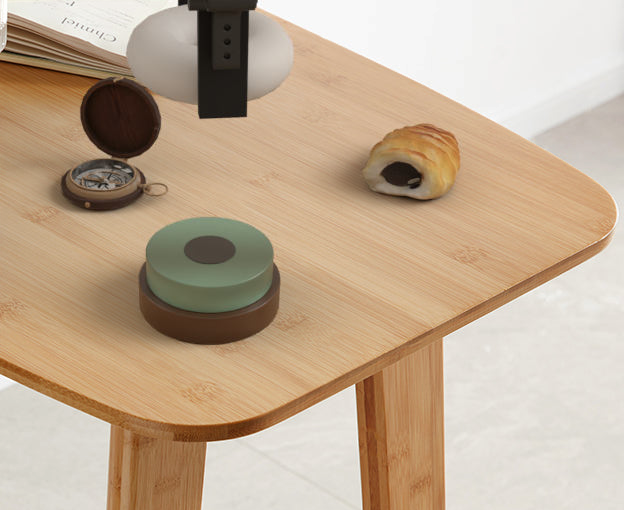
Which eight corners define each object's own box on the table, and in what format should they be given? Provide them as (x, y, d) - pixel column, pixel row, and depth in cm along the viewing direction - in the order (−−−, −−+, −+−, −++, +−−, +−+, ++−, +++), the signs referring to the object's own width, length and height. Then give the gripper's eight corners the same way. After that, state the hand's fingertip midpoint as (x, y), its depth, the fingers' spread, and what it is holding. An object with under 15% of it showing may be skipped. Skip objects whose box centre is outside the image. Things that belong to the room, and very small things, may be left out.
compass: (47, 205, 82) (39, 113, 77) (89, 155, 88) (83, 67, 84) (153, 223, 80) (150, 131, 76) (188, 171, 87) (187, 83, 82)
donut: (276, 127, 64) (306, 54, 72) (278, 70, 62) (308, 2, 70) (105, 106, 65) (153, 37, 73) (101, 50, 63) (151, -15, 71)
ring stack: (135, 266, 76) (133, 215, 74) (268, 259, 78) (270, 208, 75) (144, 349, 69) (142, 295, 67) (290, 339, 71) (292, 286, 68)
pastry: (395, 138, 93) (400, 96, 91) (474, 157, 91) (482, 114, 89) (356, 190, 86) (361, 145, 84) (442, 212, 84) (449, 166, 82)
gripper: (334, -312, 47) (307, 162, 60) (251, -372, 65) (244, 4, 78) (152, -317, 46) (165, 169, 59) (118, -377, 63) (134, 6, 77)
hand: (210, 75), depth 68 cm, fingers closed on donut, 10 cm apart
